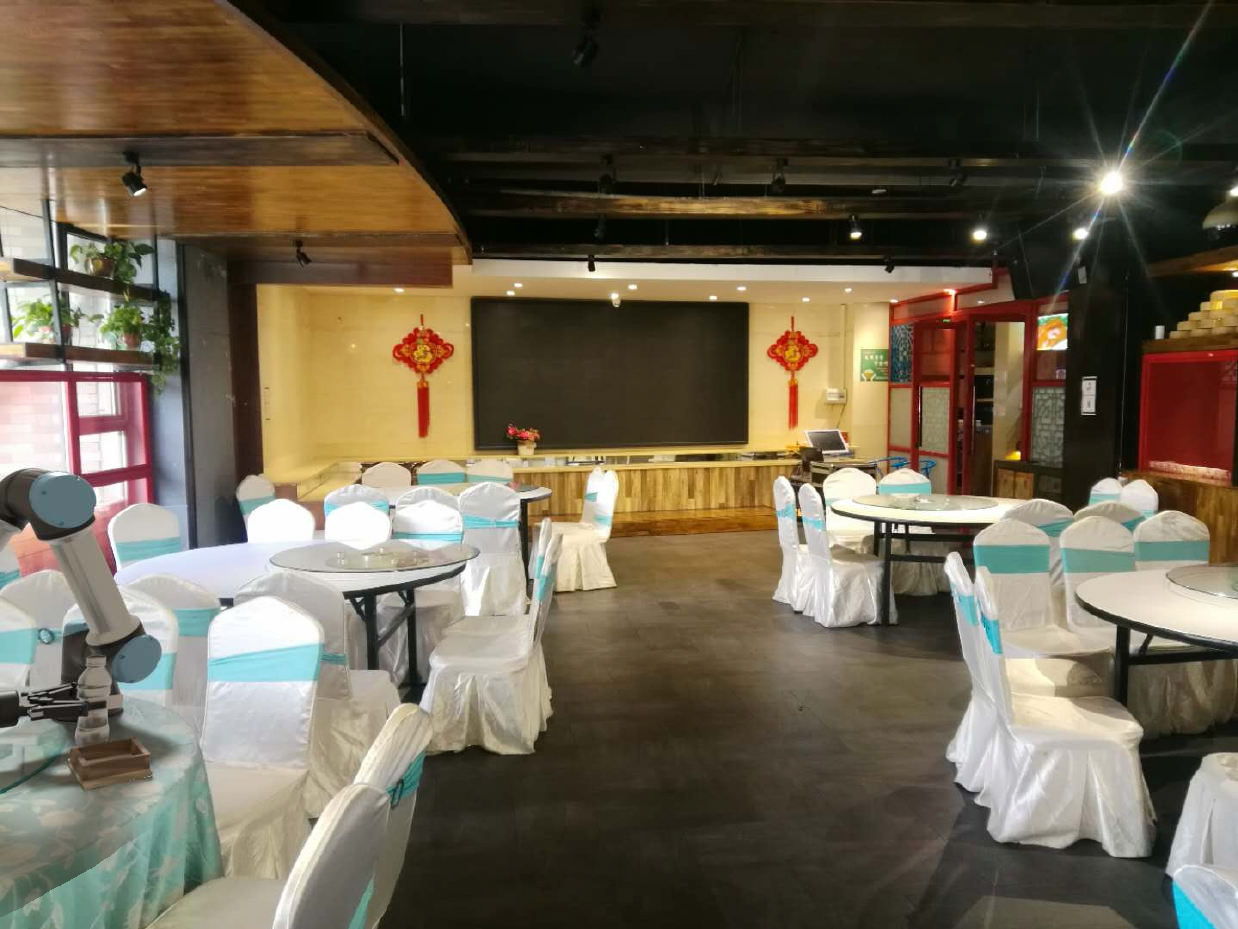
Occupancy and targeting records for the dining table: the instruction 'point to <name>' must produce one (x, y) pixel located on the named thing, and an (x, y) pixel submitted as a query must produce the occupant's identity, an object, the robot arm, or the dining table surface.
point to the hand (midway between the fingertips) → (116, 694)
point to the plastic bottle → (93, 686)
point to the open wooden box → (109, 762)
